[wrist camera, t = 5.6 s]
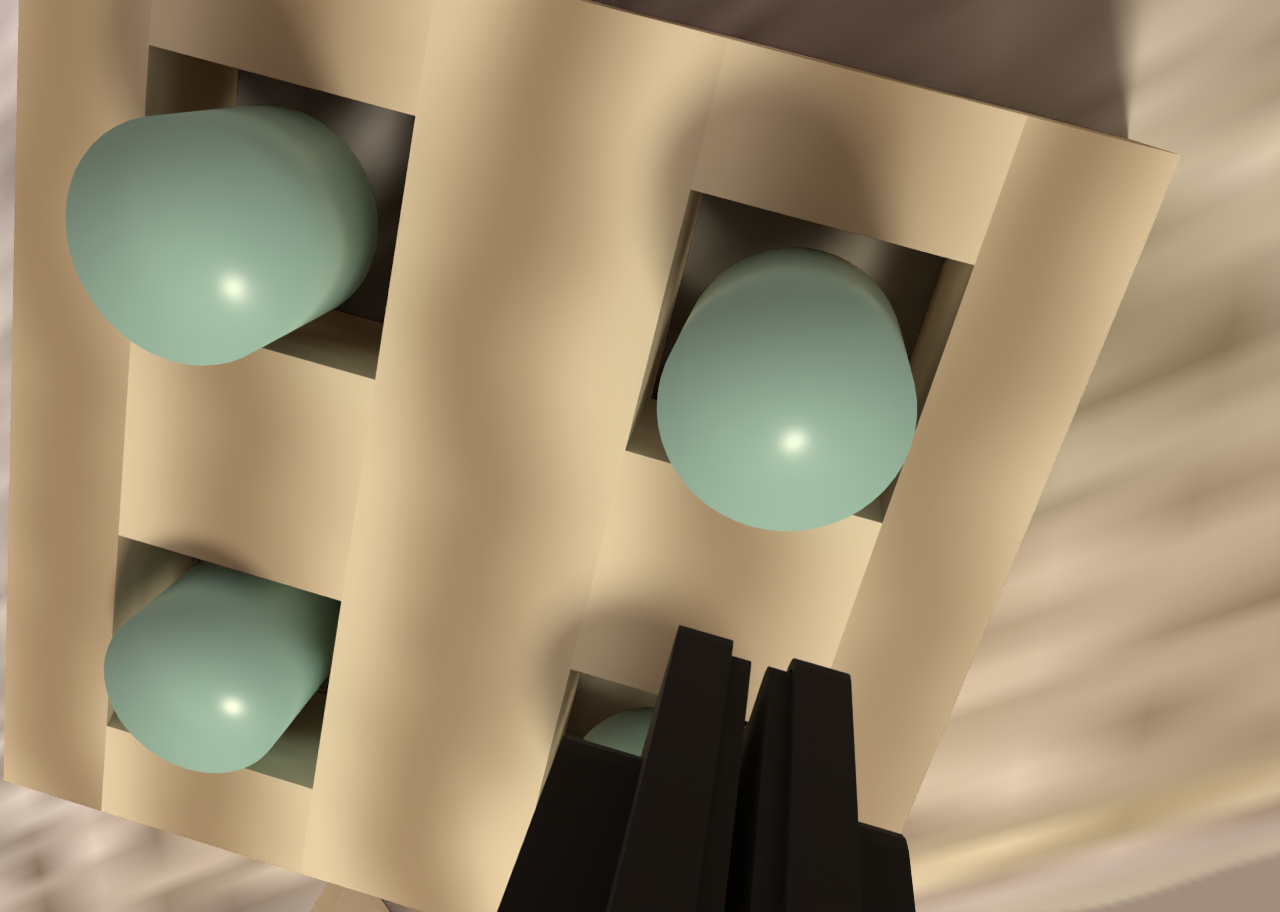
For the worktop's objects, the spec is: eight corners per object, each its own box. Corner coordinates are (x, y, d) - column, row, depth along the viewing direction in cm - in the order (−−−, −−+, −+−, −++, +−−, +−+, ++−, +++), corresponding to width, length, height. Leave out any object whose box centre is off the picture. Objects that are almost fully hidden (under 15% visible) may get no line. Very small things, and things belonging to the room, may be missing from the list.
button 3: (933, 280, 23) (954, 325, 20) (864, 484, 25) (870, 560, 21) (713, 221, 24) (691, 254, 20) (659, 426, 25) (631, 492, 22)
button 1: (393, 135, 24) (313, 152, 20) (362, 343, 26) (284, 393, 22) (185, 79, 24) (70, 86, 21) (169, 289, 26) (60, 329, 22)
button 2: (358, 567, 30) (293, 640, 27) (335, 709, 32) (271, 795, 29) (194, 519, 31) (108, 585, 27) (182, 662, 33) (99, 742, 29)
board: (1128, 138, 25) (1181, 155, 21) (818, 926, 34) (817, 1035, 30) (135, -118, 26) (22, -144, 23) (89, 703, 35) (3, 780, 32)
